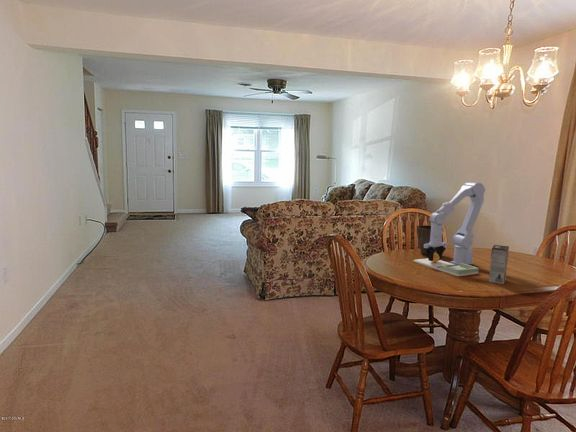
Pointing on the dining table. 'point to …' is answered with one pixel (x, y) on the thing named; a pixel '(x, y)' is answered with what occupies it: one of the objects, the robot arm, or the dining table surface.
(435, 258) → the ball
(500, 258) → the coffee box
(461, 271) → the board
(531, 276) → the dining table surface
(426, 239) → the plant pot
